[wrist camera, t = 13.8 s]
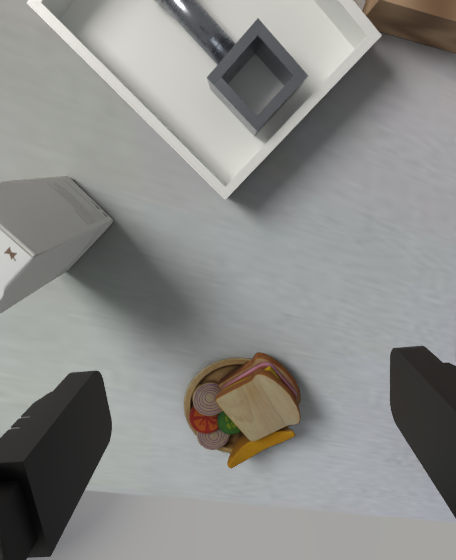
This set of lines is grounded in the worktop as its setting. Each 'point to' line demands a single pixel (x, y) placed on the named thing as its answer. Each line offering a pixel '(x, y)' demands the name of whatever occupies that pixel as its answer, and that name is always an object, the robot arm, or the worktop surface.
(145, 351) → the worktop surface
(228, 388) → the toy sandwich meal
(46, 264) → the skincare box
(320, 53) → the bin
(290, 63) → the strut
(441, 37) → the stud block
